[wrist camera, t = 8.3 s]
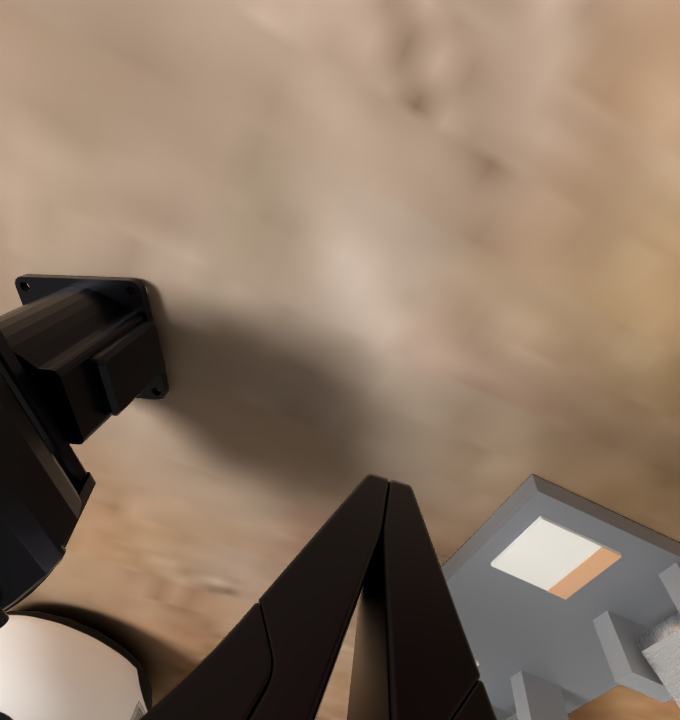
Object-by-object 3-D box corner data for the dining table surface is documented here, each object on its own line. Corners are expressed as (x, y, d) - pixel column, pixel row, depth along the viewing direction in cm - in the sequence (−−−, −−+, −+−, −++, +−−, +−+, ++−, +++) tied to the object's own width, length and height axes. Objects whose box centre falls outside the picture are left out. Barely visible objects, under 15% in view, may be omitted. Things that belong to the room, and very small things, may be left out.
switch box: (363, 647, 32) (357, 718, 28) (531, 474, 22) (557, 546, 18) (527, 715, 33) (542, 792, 29) (754, 578, 23) (822, 666, 19)
